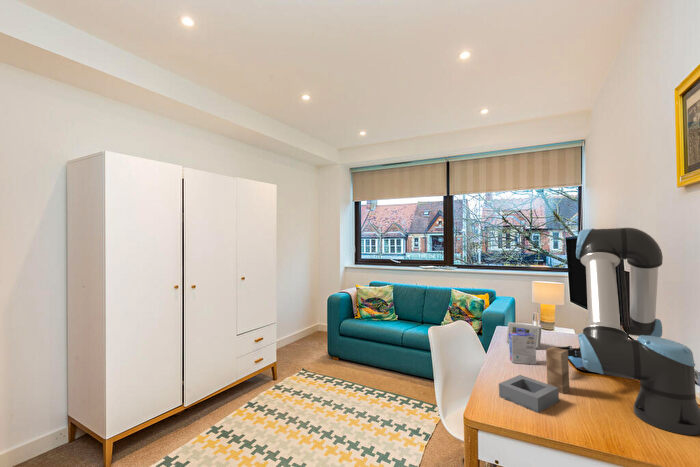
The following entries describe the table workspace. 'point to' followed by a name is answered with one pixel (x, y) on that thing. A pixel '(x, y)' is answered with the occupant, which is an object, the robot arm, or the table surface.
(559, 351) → the walnut block
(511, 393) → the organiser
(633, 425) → the table surface
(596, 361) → the robot arm
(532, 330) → the digital clock
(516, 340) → the ink cartridge box
